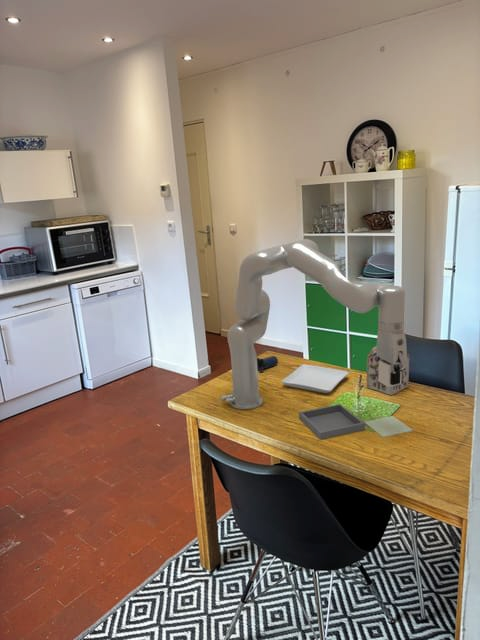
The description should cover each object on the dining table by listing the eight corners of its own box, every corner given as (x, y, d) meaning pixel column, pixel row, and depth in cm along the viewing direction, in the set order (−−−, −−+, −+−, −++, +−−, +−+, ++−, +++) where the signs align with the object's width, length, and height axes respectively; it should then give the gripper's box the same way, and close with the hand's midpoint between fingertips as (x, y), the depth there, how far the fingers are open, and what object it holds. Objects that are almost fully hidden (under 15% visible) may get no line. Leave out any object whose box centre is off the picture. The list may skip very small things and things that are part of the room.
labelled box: (387, 386, 153) (388, 365, 151) (378, 381, 158) (378, 360, 156) (401, 384, 155) (401, 362, 153) (391, 378, 159) (392, 357, 157)
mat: (383, 439, 154) (383, 436, 154) (364, 424, 164) (364, 421, 164) (412, 432, 157) (413, 429, 157) (392, 417, 167) (392, 415, 167)
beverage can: (261, 376, 214) (280, 370, 222) (264, 360, 211) (282, 354, 219) (247, 368, 219) (266, 362, 227) (249, 352, 217) (268, 347, 225)
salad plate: (330, 398, 186) (330, 389, 185) (280, 388, 197) (280, 380, 196) (349, 378, 203) (350, 371, 202) (303, 371, 214) (302, 363, 213)
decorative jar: (365, 388, 192) (366, 344, 188) (382, 379, 200) (383, 337, 195) (392, 396, 184) (393, 351, 179) (409, 387, 191) (411, 343, 186)
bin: (320, 441, 155) (320, 432, 154) (299, 420, 169) (298, 412, 169) (364, 431, 159) (365, 423, 158) (340, 411, 174) (340, 403, 173)
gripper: (419, 331, 145) (416, 388, 149) (385, 318, 160) (384, 370, 165) (397, 335, 142) (395, 392, 147) (365, 321, 158) (364, 374, 163)
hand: (389, 380), depth 156 cm, fingers closed on labelled box, 5 cm apart
